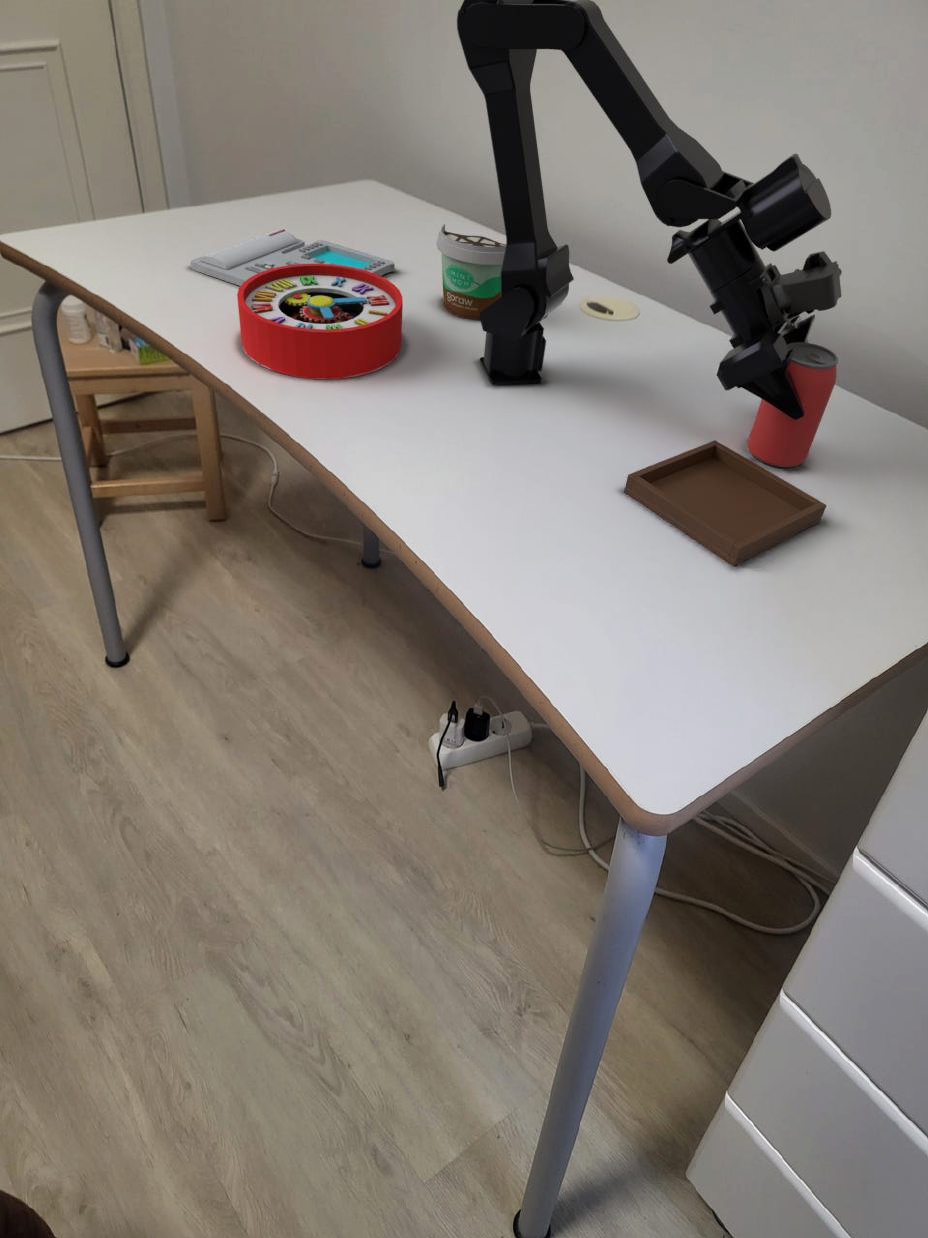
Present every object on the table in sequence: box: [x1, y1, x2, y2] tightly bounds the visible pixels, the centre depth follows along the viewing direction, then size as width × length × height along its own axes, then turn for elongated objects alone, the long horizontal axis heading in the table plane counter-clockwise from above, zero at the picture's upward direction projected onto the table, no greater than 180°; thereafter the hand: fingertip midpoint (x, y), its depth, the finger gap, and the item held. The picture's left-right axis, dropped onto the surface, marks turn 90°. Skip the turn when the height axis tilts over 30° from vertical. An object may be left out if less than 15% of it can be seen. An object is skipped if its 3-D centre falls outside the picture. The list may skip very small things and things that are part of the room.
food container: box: [435, 223, 506, 321], centre depth 119 cm, size 12×6×10 cm, turn 68°
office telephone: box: [189, 228, 396, 287], centre depth 128 cm, size 23×3×20 cm
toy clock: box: [236, 264, 404, 380], centre depth 110 cm, size 20×6×20 cm
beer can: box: [746, 342, 839, 468], centre depth 95 cm, size 7×7×12 cm
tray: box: [623, 439, 827, 567], centre depth 89 cm, size 15×14×2 cm
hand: (806, 404), depth 94 cm, fingers closed on beer can, 6 cm apart
